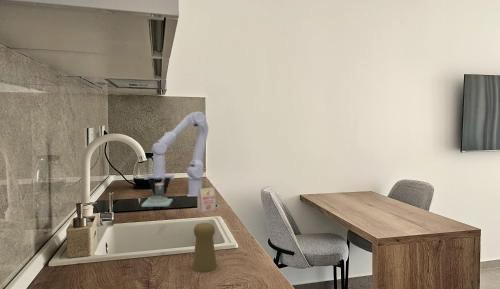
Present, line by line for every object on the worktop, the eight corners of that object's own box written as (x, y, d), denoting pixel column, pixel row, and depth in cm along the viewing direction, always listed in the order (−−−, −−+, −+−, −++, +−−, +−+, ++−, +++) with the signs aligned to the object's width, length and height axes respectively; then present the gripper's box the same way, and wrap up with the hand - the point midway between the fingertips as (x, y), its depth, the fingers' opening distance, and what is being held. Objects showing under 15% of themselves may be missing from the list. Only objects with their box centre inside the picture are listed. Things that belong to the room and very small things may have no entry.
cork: (190, 264, 88) (189, 222, 87) (212, 261, 90) (212, 219, 90) (196, 273, 82) (195, 228, 82) (220, 269, 85) (219, 225, 84)
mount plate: (147, 201, 168) (147, 199, 168) (172, 200, 169) (172, 198, 168) (141, 206, 156) (141, 204, 156) (168, 206, 157) (168, 203, 157)
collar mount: (150, 199, 166) (150, 195, 166) (168, 199, 167) (168, 195, 167) (146, 203, 158) (146, 199, 157) (165, 203, 158) (165, 198, 158)
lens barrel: (155, 198, 175) (155, 182, 175) (165, 198, 176) (165, 182, 175) (153, 200, 170) (153, 184, 170) (164, 200, 171) (163, 183, 170)
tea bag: (197, 211, 146) (197, 188, 145) (212, 209, 149) (212, 186, 149) (200, 213, 143) (200, 189, 142) (215, 211, 146) (215, 187, 145)
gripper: (142, 167, 168) (143, 195, 168) (172, 167, 169) (173, 194, 169) (146, 166, 175) (146, 192, 175) (174, 165, 176) (175, 192, 176)
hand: (159, 193), depth 173 cm, fingers closed on lens barrel, 5 cm apart
